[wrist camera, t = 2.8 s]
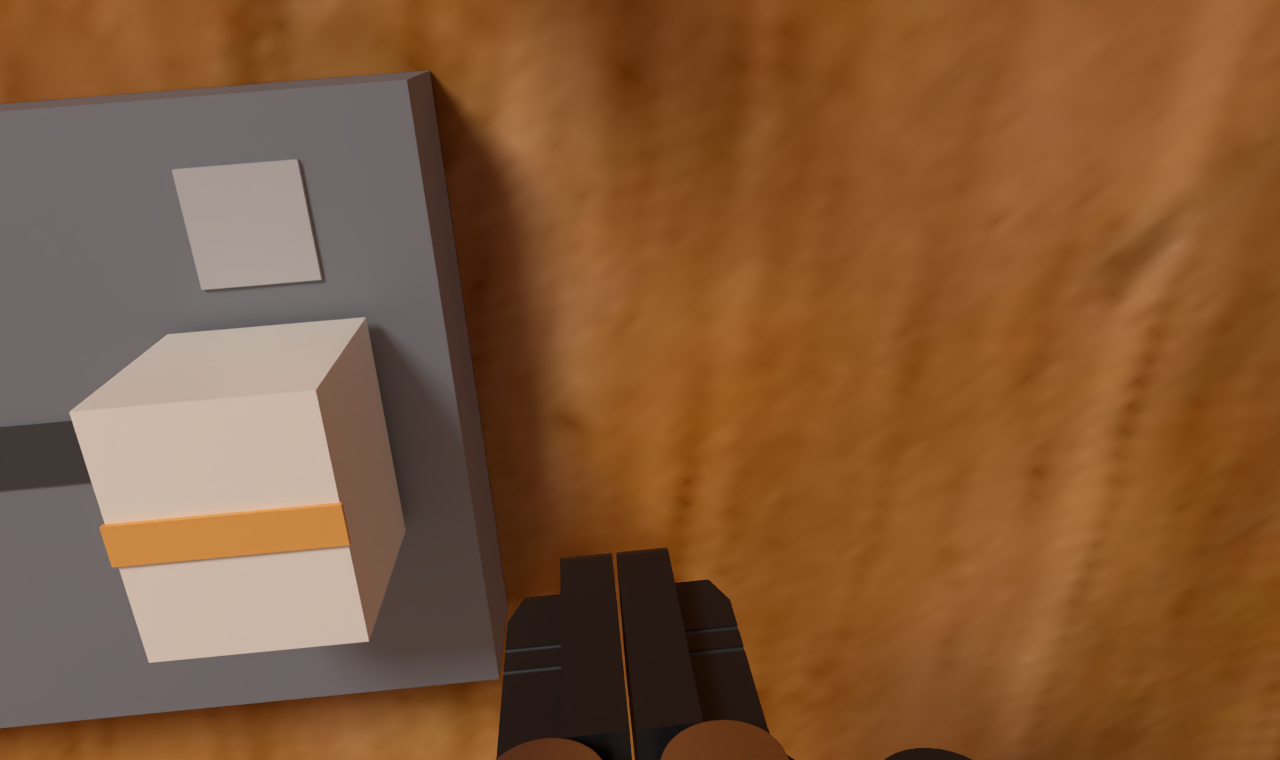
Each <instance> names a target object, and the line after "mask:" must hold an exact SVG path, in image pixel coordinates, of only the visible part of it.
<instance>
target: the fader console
mask: <svg viewBox="0 0 1280 760" xmlns="http://www.w3.org/2000/svg"><path fill="white" fill-rule="evenodd" d="M361 317H366V320H367V325H368V330H369V336H370V341H371V346H372V352H373V357H374V363H375V368H376V373H377V379H378V384H379V389H380V395H381V400H382V406H383V411H384V416H385V422H386V427H387V433H388V438H389V443H390V449H391V454H392V459H393V465H394V470H395V476H396V481H397V486H398V492H399V497H400V503H401V508H402V513H403V519H404V524H405V529H406V531H405V534H404V537H403V540H402V543H401V546H400V549H399V552H398V555H397V559H396V562H395V565H394V568H393V571H392V574H391V577H390V580H389V583H388V586H387V589H386V592H385V595H384V598H383V601H382V604H381V607H380V610H379V613H378V616H377V619H376V622H375V625H374V628H373V631H372V634H371V637H370V640H369V642H359V643H349V644H339V645H328V646H318V647H308V648H297V649H287V650H277V651H266V652H256V653H246V654H236V655H225V656H215V657H205V658H194V659H184V660H174V661H163V662H153V663H149V662H148V659H147V655H146V652H145V649H144V646H143V643H142V640H141V637H140V633H139V630H138V627H137V624H136V621H135V618H134V615H133V611H132V608H131V605H130V602H129V599H128V596H127V593H126V589H125V586H124V583H123V580H122V577H121V574H120V571H119V567H114V568H112V566H111V563H110V560H109V557H108V554H107V551H106V548H105V544H104V541H103V538H102V535H101V532H100V529H99V527H100V526H101V525H102V524H105V523H104V520H103V517H102V514H101V511H100V508H99V505H98V501H97V498H96V495H95V492H94V489H93V486H92V483H91V479H90V476H89V473H88V470H87V467H86V464H85V461H84V458H83V454H82V451H81V448H80V445H79V442H78V439H77V436H76V432H75V429H74V426H73V423H72V420H71V417H70V414H69V412H70V411H71V410H72V409H73V408H75V407H76V406H77V405H78V404H80V403H81V402H82V401H84V400H85V399H86V398H87V397H89V396H90V395H91V394H92V393H94V392H95V391H96V390H97V389H99V388H100V387H101V386H103V385H104V384H105V383H106V382H108V381H109V380H110V379H111V378H113V377H114V376H115V375H116V374H118V373H119V372H120V371H122V370H123V369H124V368H125V367H127V366H128V365H129V364H130V363H132V362H133V361H134V360H135V359H137V358H138V357H139V356H141V355H142V354H143V353H144V352H146V351H147V350H148V349H149V348H151V347H152V346H153V345H154V344H156V343H157V342H158V341H160V340H161V339H162V338H163V337H165V336H166V335H167V334H176V333H187V332H199V331H211V330H222V329H234V328H245V327H257V326H269V325H280V324H292V323H303V322H315V321H327V320H338V319H350V318H361ZM507 609H508V606H507V599H506V592H505V585H504V578H503V571H502V565H501V558H500V551H499V544H498V537H497V530H496V523H495V516H494V510H493V503H492V496H491V489H490V482H489V475H488V468H487V461H486V455H485V448H484V441H483V434H482V427H481V420H480V413H479V406H478V400H477V393H476V386H475V379H474V372H473V365H472V358H471V351H470V345H469V338H468V331H467V324H466V317H465V310H464V303H463V296H462V290H461V283H460V276H459V269H458V262H457V255H456V248H455V241H454V235H453V228H452V221H451V214H450V207H449V200H448V193H447V186H446V180H445V173H444V166H443V159H442V152H441V145H440V138H439V131H438V125H437V118H436V111H435V104H434V97H433V90H432V83H431V76H430V70H429V71H417V72H404V73H391V74H378V75H365V76H353V77H340V78H327V79H314V80H302V81H289V82H276V83H263V84H251V85H238V86H225V87H212V88H199V89H187V90H174V91H161V92H148V93H136V94H123V95H110V96H97V97H84V98H72V99H59V100H46V101H33V102H21V103H8V104H0V728H9V727H19V726H29V725H39V724H49V723H60V722H70V721H80V720H90V719H100V718H110V717H120V716H130V715H141V714H151V713H161V712H171V711H181V710H191V709H201V708H211V707H222V706H232V705H242V704H252V703H262V702H272V701H282V700H292V699H303V698H313V697H323V696H333V695H343V694H353V693H363V692H373V691H384V690H394V689H404V688H414V687H424V686H434V685H444V684H455V683H465V682H475V681H485V680H495V679H499V678H500V669H501V660H502V652H503V643H504V635H505V626H506V617H507Z"/></svg>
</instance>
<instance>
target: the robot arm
mask: <svg viewBox="0 0 1280 760" xmlns="http://www.w3.org/2000/svg"><path fill="white" fill-rule="evenodd" d="M616 556H617V569H618V581H619V593H620V605H621V618H622V630H623V642H624V654H625V665H626V676H627V686H628V696H629V706H630V716H631V725H632V735H633V745H634V754H635V760H794V759H792V758H791V757H789V756H788V755H787V754H786V752H785V750H784V748H783V747H782V746H781V744H780V743H779V742H778V741H777V740H776V739H775V738H774V737H773V736H772V735H770V733H769V730H768V728H767V725H766V721H765V718H764V714H763V711H762V708H761V704H760V701H759V697H758V694H757V691H756V687H755V684H754V680H753V677H752V674H751V670H750V667H749V663H748V660H747V656H746V653H745V651H744V648H743V643H742V639H741V636H740V633H739V630H738V628H737V622H736V619H735V616H734V612H733V609H732V605H731V602H730V599H728V598H727V597H726V596H725V595H724V594H723V593H722V592H721V591H720V590H719V589H718V588H717V587H716V586H715V585H714V584H713V583H712V582H711V581H709V580H700V581H690V582H680V583H675V582H674V577H673V572H672V567H671V562H670V557H669V552H668V549H667V548H658V549H648V550H637V551H627V552H617V553H616ZM560 572H561V594H560V595H550V596H540V597H530V598H525V599H524V600H523V602H522V603H521V604H520V606H519V607H518V609H517V610H516V612H515V613H514V614H513V616H512V617H511V619H510V620H509V621H508V628H507V640H506V654H505V664H504V676H503V688H502V700H501V712H500V725H499V737H498V749H497V758H496V760H632V756H631V744H630V731H629V721H628V711H627V701H626V691H625V681H624V671H623V661H622V651H621V641H620V631H619V621H618V611H617V601H616V591H615V580H614V570H613V560H612V553H608V554H598V555H588V556H577V557H567V558H561V561H560ZM885 760H971V759H969V758H967V757H965V756H963V755H960V754H957V753H954V752H951V751H946V750H942V749H933V748H916V749H909V750H904V751H901V752H898V753H895V754H893V755H891V756H889V757H888V758H886V759H885Z"/></svg>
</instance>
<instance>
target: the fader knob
mask: <svg viewBox="0 0 1280 760" xmlns="http://www.w3.org/2000/svg"><path fill="white" fill-rule="evenodd" d="M69 414H70V417H71V420H72V423H73V426H74V429H75V432H76V436H77V439H78V442H79V445H80V448H81V451H82V454H83V458H84V461H85V464H86V467H87V470H88V473H89V476H90V479H91V483H92V486H93V489H94V492H95V495H96V498H97V501H98V505H99V508H100V511H101V514H102V517H103V520H104V523H105V524H102V525H101V526H100V527H99V529H100V532H101V535H102V538H103V541H104V544H105V548H106V551H107V554H108V557H109V560H110V563H111V566H112V568H114V567H119V571H120V574H121V577H122V580H123V583H124V586H125V589H126V593H127V596H128V599H129V602H130V605H131V608H132V611H133V615H134V618H135V621H136V624H137V627H138V630H139V633H140V637H141V640H142V643H143V646H144V649H145V652H146V655H147V659H148V662H149V663H153V662H163V661H174V660H184V659H194V658H205V657H215V656H225V655H236V654H246V653H256V652H266V651H277V650H287V649H297V648H308V647H318V646H328V645H339V644H349V643H359V642H369V640H370V637H371V634H372V631H373V628H374V625H375V622H376V619H377V616H378V613H379V610H380V607H381V604H382V601H383V598H384V595H385V592H386V589H387V586H388V583H389V580H390V577H391V574H392V571H393V568H394V565H395V562H396V559H397V555H398V552H399V549H400V546H401V543H402V540H403V537H404V534H405V531H406V529H405V524H404V519H403V513H402V508H401V503H400V497H399V492H398V486H397V481H396V476H395V470H394V465H393V459H392V454H391V449H390V443H389V438H388V433H387V427H386V422H385V416H384V411H383V406H382V400H381V395H380V389H379V384H378V379H377V373H376V368H375V363H374V357H373V352H372V346H371V341H370V336H369V330H368V325H367V320H366V317H361V318H350V319H338V320H327V321H315V322H303V323H292V324H280V325H269V326H257V327H245V328H234V329H222V330H211V331H199V332H187V333H176V334H167V335H166V336H165V337H163V338H162V339H161V340H160V341H158V342H157V343H156V344H154V345H153V346H152V347H151V348H149V349H148V350H147V351H146V352H144V353H143V354H142V355H141V356H139V357H138V358H137V359H135V360H134V361H133V362H132V363H130V364H129V365H128V366H127V367H125V368H124V369H123V370H122V371H120V372H119V373H118V374H116V375H115V376H114V377H113V378H111V379H110V380H109V381H108V382H106V383H105V384H104V385H103V386H101V387H100V388H99V389H97V390H96V391H95V392H94V393H92V394H91V395H90V396H89V397H87V398H86V399H85V400H84V401H82V402H81V403H80V404H78V405H77V406H76V407H75V408H73V409H72V410H71V411H70V412H69Z"/></svg>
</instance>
